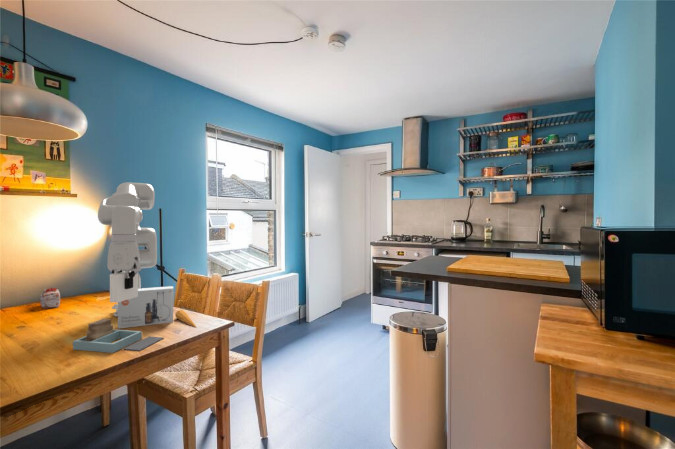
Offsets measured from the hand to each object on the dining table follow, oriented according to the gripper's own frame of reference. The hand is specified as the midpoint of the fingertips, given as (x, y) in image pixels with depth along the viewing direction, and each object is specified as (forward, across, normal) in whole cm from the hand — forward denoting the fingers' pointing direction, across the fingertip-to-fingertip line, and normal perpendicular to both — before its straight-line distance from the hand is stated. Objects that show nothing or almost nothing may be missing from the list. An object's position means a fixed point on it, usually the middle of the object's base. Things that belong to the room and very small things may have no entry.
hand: (124, 287), depth 117 cm
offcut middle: (+19, -10, -1) cm, 21 cm away
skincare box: (+22, -10, +22) cm, 32 cm away
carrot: (+22, +6, +27) cm, 35 cm away
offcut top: (+16, -10, -1) cm, 19 cm away
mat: (+21, +7, +2) cm, 22 cm away
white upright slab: (+4, 0, 0) cm, 4 cm away
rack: (+21, -6, -1) cm, 22 cm away
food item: (+22, -81, +35) cm, 91 cm away
